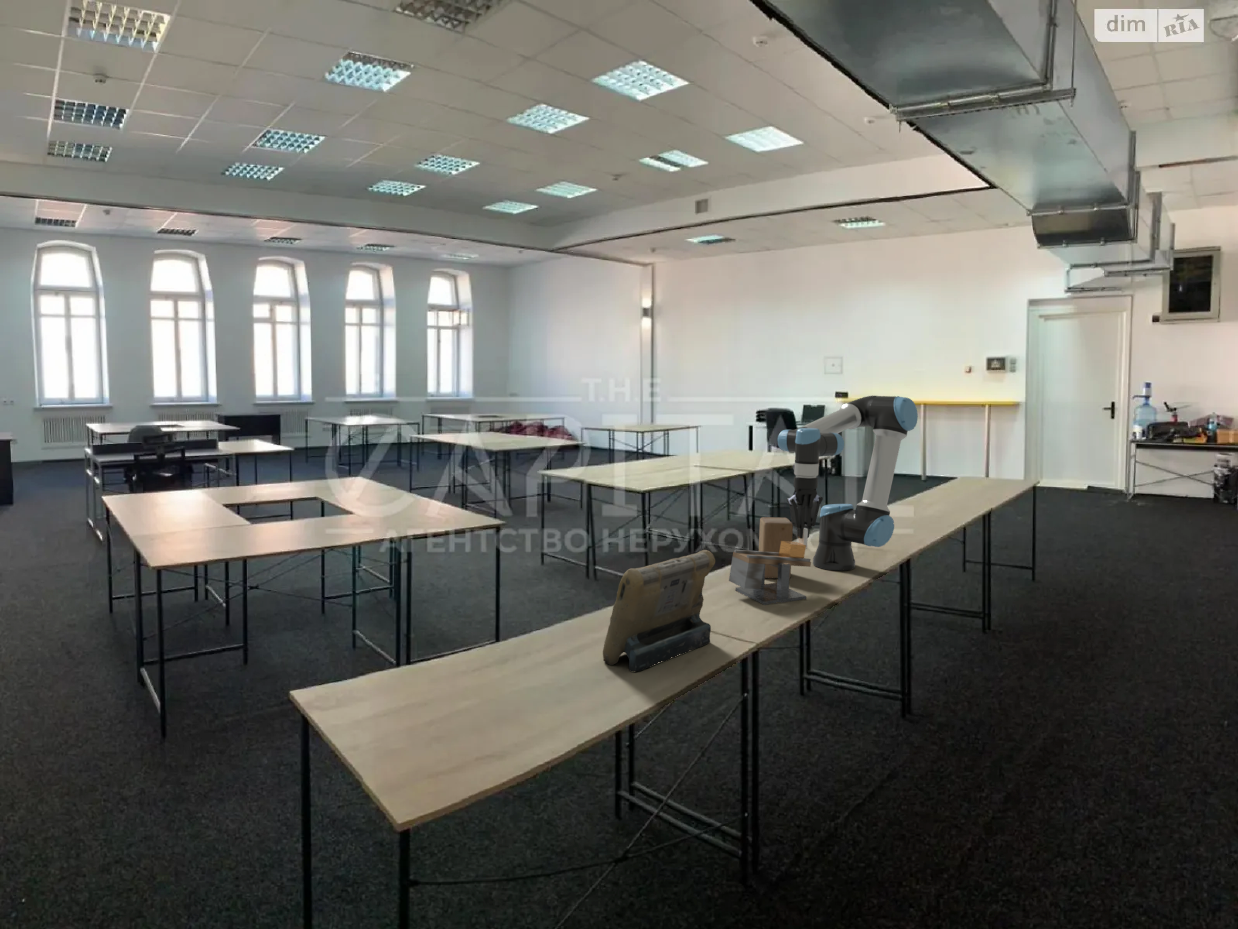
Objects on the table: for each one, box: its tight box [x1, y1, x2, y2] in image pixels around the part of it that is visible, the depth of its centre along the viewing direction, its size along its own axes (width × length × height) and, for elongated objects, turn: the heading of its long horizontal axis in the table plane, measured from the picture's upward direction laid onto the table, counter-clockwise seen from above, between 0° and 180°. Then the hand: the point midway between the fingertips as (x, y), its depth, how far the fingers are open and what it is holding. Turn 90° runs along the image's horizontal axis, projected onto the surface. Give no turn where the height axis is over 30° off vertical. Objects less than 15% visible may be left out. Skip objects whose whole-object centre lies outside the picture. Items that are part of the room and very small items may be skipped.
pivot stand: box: [735, 562, 807, 606], centre depth 243 cm, size 16×16×12 cm
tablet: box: [602, 549, 716, 672], centre depth 192 cm, size 33×14×25 cm, turn 141°
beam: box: [728, 549, 812, 589], centre depth 242 cm, size 24×9×10 cm, turn 115°
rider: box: [779, 541, 806, 558], centre depth 245 cm, size 6×5×5 cm
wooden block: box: [758, 516, 794, 579], centre depth 266 cm, size 10×10×20 cm
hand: (802, 547), depth 247 cm, fingers closed
